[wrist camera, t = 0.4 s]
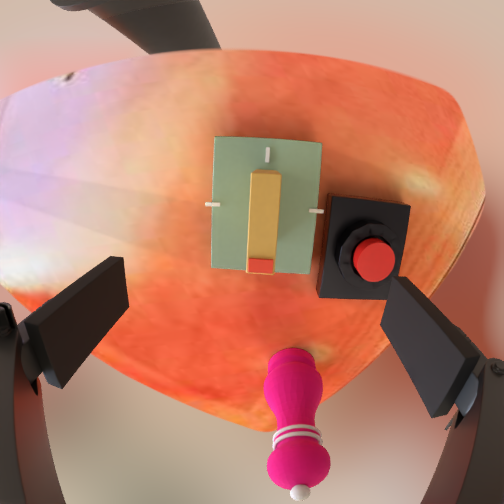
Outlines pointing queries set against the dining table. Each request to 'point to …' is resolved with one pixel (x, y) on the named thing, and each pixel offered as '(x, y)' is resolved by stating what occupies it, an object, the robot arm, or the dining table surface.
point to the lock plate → (238, 197)
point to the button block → (350, 235)
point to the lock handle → (263, 221)
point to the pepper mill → (295, 422)
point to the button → (373, 259)
